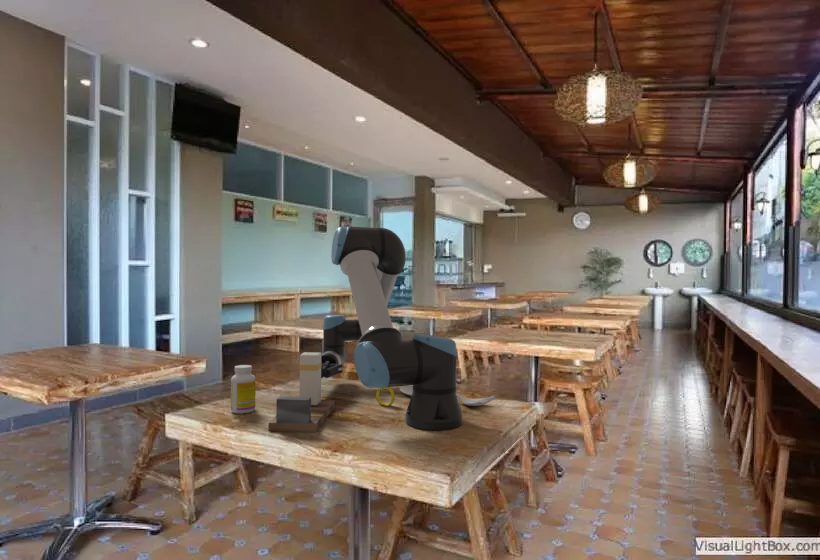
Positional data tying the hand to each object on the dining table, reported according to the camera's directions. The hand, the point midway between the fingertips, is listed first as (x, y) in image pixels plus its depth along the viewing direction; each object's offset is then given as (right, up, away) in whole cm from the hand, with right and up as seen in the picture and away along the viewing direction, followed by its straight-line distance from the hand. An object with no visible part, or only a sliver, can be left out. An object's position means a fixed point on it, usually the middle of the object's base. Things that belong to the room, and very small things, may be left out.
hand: (310, 378), depth 151 cm
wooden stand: (0, -9, -9) cm, 13 cm away
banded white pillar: (0, -6, -3) cm, 7 cm away
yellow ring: (+21, -9, +5) cm, 24 cm away
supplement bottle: (-19, -9, -3) cm, 21 cm away
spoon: (+39, -10, +12) cm, 42 cm away
